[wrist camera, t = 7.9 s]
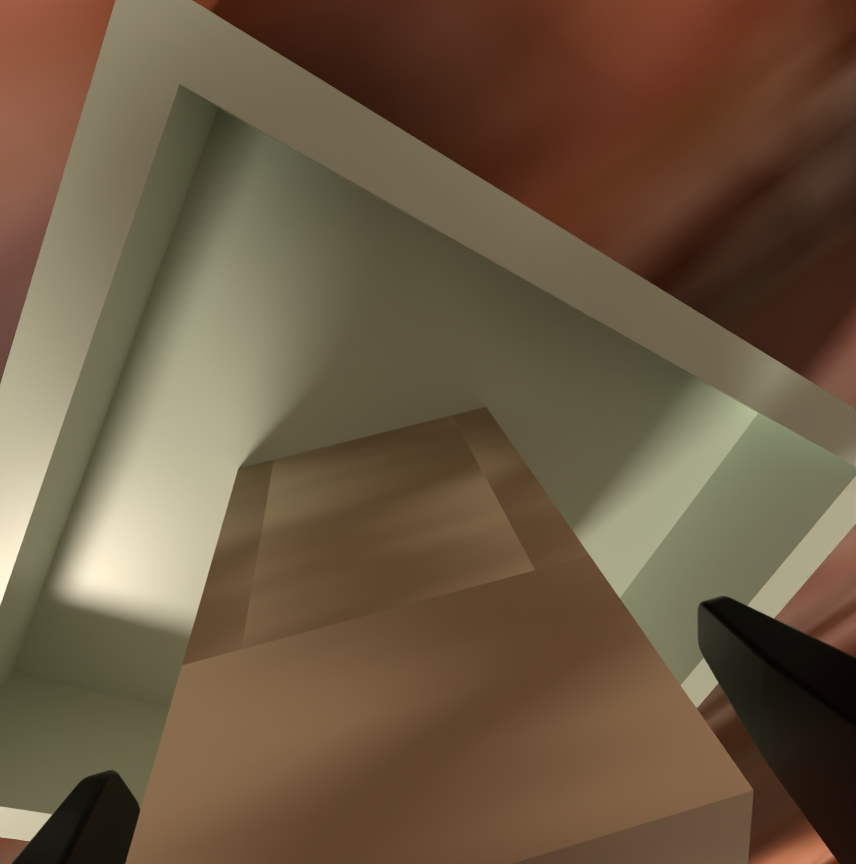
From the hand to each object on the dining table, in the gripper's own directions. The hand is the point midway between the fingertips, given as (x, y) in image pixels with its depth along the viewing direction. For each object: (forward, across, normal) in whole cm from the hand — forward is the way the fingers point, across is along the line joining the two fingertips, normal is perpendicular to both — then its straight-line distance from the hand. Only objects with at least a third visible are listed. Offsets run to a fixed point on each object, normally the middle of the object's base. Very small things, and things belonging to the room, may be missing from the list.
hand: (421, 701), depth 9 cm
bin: (+5, 0, 0) cm, 5 cm away
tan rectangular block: (+4, 0, 0) cm, 4 cm away
